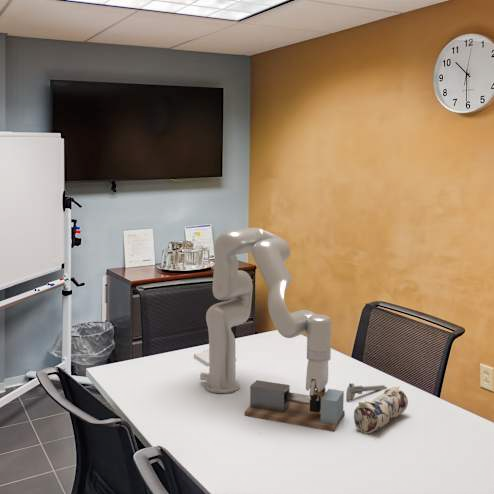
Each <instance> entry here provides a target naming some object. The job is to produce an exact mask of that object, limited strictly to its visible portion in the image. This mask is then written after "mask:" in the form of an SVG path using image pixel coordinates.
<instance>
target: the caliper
mask: <svg viewBox="0 0 494 494" xmlns="http://www.w3.org/2000/svg"><path fill="white" fill-rule="evenodd" d="M382 389H383V390H386V389H388V386H386V385H384V384H380V385H379V384H378V385H366V386H364V385H355V384H354V383H352V382H351V383H350V382H349V383H348V386H347V389H346V402H350V401H354V399H355V396H356V394H358V395H363V392H371V391H382Z"/></svg>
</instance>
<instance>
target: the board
mask: <svg viewBox="0 0 494 494" xmlns="http://www.w3.org/2000/svg"><path fill="white" fill-rule="evenodd" d="M309 410H310V405H306V404H300V403H294V402H289V407H288V409H287V410H286V411H285V412H284V413H280V412H275V411H269V410H263V409H257V408H251V407H250V405H249V406H248V407H247V408H246V409H245V410H244V416H246V417H251V418H256V419H262V420H268V421H273V422H279V423H285V424H289V425H290V424H292V425H295V426H297V425H298V426H302V427H308V428H313V429H319V430H324V431H331V432H335V431H336V430H337V428H338V426H339V425H340V423H341V421H342V420H343V418H344V416H345V414H346V413H345V410H343V414H342V416H341V417H340V419H339V420H338V422H337V424H332V423H326V422H320V421H321V414H318V413H312V412H309Z"/></svg>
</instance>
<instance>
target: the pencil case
mask: <svg viewBox="0 0 494 494" xmlns="http://www.w3.org/2000/svg"><path fill="white" fill-rule="evenodd" d="M408 405H409V399H408V397H407V395H406V394H405V392H404V390H401V389H400V386H392V387H389V388H386V389H385V391H384V392H383V393H381V394H380V395H378V396H377V397H376V398H374V399H372V400H371V401H367V400H365V401H359V402H358V406H357V407H356V408H354V411H353V421H354V425H355V427H356V428H357V430H358V431H359V432H361V433H363V434H366V435H368V434H373V433H374V432H376V431H378V430H379V429H381V428H383V427H384V426H386V425H387V424H388V423H390V422H391V421H392V420H394V419H395V418H397V417H398V416H399V415H401V414H402V413H404V412H405V411H406V410H407V407H408Z"/></svg>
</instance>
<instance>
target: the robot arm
mask: <svg viewBox="0 0 494 494" xmlns="http://www.w3.org/2000/svg"><path fill="white" fill-rule="evenodd" d="M213 253H214V254H213V255H214V265H213V266H214V267H213V275H212V276H213V277H212V295H213V297H214V298H215V299H217V300H219V301H221V302H217V303H214V304H213V305H211V306H210V307H209V308H208V309H207V311H206V313H205V320H206V325H207V329H208V330H207V331H208V332H207V333H208V346H209V347H208V350H209V366H208V367H209V368H208V370H209V371H208V372H209V373H207V372H200V375H199V377H200V378H199V379H200V380H201V381H206V382H205V384H204V386H205V387H204V388H205V389H206V390H207V391H208V392H210V393H215V394H229V393H234V392H236V391H238V390H239V389H240V387H241V385H240V382H239V381H238V380H236V361H235V357H236V338H235V334H234V333H233V331H232V328H233V327H235V326H240V325H242V324H244V323H245V322H247V321H248V319H249V317H250V315H251V308H252V299H253V287H254V286H253V285H254V284H253V281H252V277H251V275H250V274H249V273H248V272H247V271H244V270H239V259H238V256H237V255H243V254H248V253H249V254H250V253H251V255H252V258H253V261H254V262H255V265H256V266H257V268H258V270H259V272H260V274H261V276H262V277H263V280H264V283H265V285H266V286H267V288H268V295H267V308H268V313H269V316H270V318H271V321H272V323H273V324H274V326H275V329H276V330H277V332H278V333H279V334H280V335H281V336H282V337H283V338H286V339H292V338H296V337H299V336H301V335H304V334H306V360H308V361H307V365H306V366H307V367H306V378H305V379H306V380H305V390H306V391H309V395H310V411H311V412H317V413H319V412H320V400H319V396H320V391H326V392H327V390H326V386H327V385H328V380H329V361H330V360H331V358H332V357H331V355H332V354H331V352H332V350H331V347H332V318H331V317H330V316H328V315H327V314H318V313H316V312H313V311H311V310H308V309H300V310H296V311H292V312H290V311H289V309H288V307H287V303H286V300H285V293H286V290H287V288H288V287H289V285H291V283H292V281H293V278H292V275H291V274H290V271H289V269H288V267H287V266H286V263H285V262H284V261H287V260H288V259H289V257H290V255H291V247H290V244H289V243H288V242H287V240H286V239H285V238H283V237H281V236H278V235H277V234H274V233H272V232H269V231H267V230H265V229H263V228H259V227H248V228H246V227H245V228H237V229H232V230H227V231H224V232H222V233H220V234H219V235H218V236H217V237H216V239H215V241H214V246H213ZM317 390H318V391H317ZM315 392H316V393H317V396H316V394H315Z"/></svg>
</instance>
